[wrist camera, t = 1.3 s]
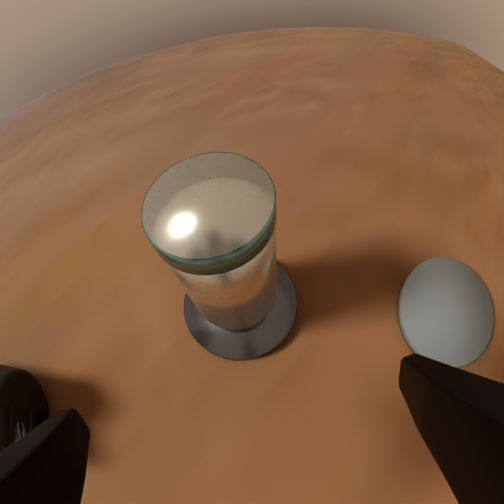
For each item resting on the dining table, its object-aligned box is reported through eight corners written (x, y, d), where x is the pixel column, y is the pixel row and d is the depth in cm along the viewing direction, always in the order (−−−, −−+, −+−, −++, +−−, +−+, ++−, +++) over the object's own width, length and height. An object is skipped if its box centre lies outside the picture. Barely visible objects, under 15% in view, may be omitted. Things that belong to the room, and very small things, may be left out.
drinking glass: (252, 345, 17) (230, 285, 10) (179, 307, 19) (116, 228, 11) (291, 272, 20) (298, 172, 12) (220, 242, 21) (190, 141, 13)
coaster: (475, 383, 17) (482, 381, 16) (381, 346, 19) (386, 343, 19) (492, 285, 20) (498, 280, 20) (411, 246, 23) (415, 240, 22)
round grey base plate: (264, 380, 19) (262, 375, 16) (167, 327, 21) (152, 314, 19) (313, 282, 22) (318, 263, 20) (221, 242, 25) (214, 221, 22)
